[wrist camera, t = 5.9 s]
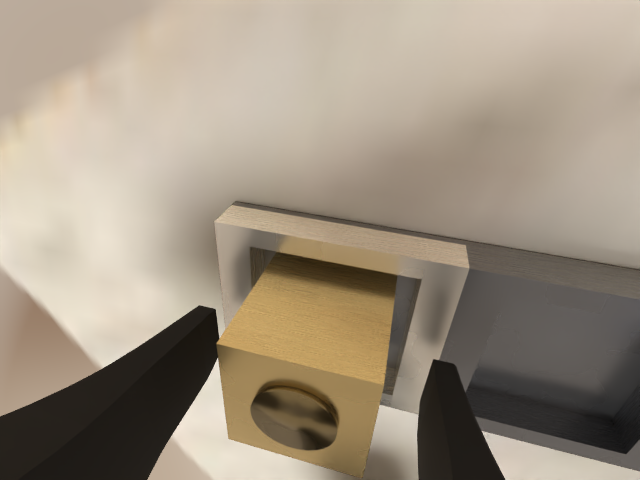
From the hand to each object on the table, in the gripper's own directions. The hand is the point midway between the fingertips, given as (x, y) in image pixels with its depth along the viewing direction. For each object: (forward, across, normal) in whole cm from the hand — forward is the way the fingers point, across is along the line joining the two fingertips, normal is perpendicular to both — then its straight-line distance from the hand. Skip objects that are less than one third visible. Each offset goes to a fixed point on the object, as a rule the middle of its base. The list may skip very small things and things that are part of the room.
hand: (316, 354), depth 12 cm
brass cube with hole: (+3, 0, 0) cm, 3 cm away
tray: (+3, -4, 0) cm, 5 cm away
